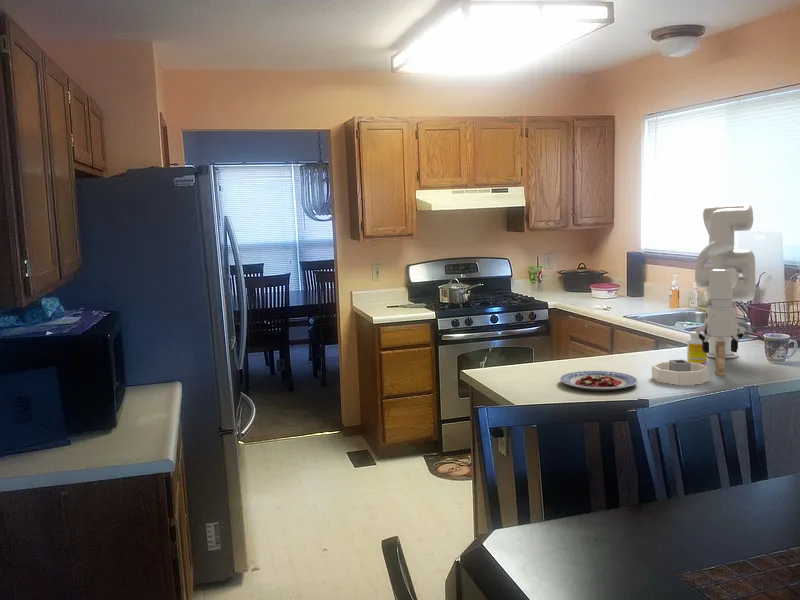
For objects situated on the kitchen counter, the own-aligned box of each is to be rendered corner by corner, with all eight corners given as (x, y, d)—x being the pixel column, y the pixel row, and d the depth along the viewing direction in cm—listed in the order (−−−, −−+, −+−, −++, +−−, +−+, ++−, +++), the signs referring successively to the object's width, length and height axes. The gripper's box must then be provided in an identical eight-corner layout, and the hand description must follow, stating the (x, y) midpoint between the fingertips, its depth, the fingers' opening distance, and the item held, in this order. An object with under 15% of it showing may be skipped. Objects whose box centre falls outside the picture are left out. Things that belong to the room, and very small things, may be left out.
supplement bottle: (708, 367, 250) (708, 333, 249) (689, 367, 252) (689, 333, 250) (704, 363, 257) (704, 330, 255) (685, 363, 258) (685, 330, 257)
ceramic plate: (636, 396, 216) (637, 387, 216) (555, 392, 225) (555, 383, 225) (638, 378, 240) (638, 370, 240) (565, 375, 249) (564, 367, 249)
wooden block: (715, 373, 241) (715, 340, 239) (720, 373, 241) (721, 340, 239) (718, 375, 238) (719, 342, 236) (724, 375, 238) (724, 341, 236)
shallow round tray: (647, 374, 244) (646, 357, 243) (694, 372, 243) (694, 355, 242) (664, 386, 227) (663, 367, 226) (715, 384, 226) (715, 365, 225)
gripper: (699, 305, 233) (699, 354, 234) (750, 304, 232) (750, 353, 234) (691, 303, 240) (691, 351, 242) (740, 302, 240) (739, 349, 241)
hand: (720, 352), depth 238 cm, fingers open, 9 cm apart
